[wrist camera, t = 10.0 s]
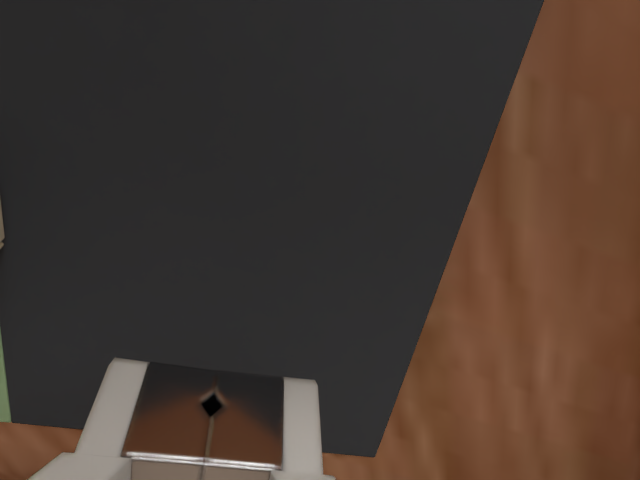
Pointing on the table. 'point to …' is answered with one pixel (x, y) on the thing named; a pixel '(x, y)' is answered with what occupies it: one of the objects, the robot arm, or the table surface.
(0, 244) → the bowl
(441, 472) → the table surface
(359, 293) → the desk mat
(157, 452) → the robot arm
